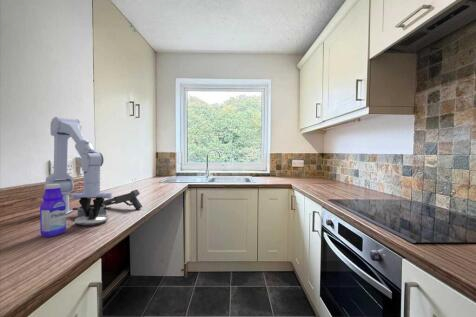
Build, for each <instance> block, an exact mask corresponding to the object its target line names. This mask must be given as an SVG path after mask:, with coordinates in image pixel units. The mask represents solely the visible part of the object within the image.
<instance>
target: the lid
mask: <svg viewBox="0 0 476 317" xmlns="http://www.w3.org/2000/svg"><path fill="white" fill-rule="evenodd" d="M108 220H109V215H107V214H106V215H104V214H98V216H97V217H94V207H91V208H88V217H86V216H81V217H76V218H74V224H76V225H80V226H84V227H88V226H89V227H90V226H96V225H97V226H98V225H101V224H103V223H104V222H106V221H108Z"/></svg>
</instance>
